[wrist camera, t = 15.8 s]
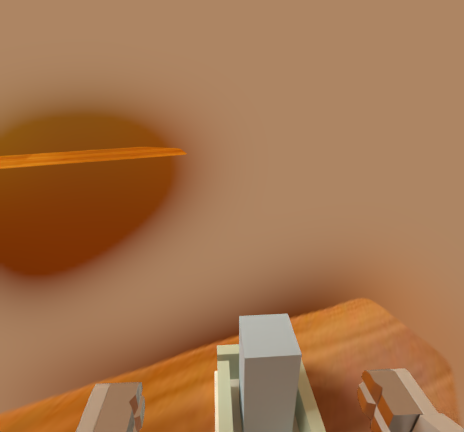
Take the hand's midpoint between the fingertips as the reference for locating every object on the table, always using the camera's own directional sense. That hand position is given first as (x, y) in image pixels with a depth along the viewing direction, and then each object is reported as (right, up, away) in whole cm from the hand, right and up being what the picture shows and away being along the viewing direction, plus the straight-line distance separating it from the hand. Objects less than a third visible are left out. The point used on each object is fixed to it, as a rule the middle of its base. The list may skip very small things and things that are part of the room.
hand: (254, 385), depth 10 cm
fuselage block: (+3, -19, +24) cm, 31 cm away
